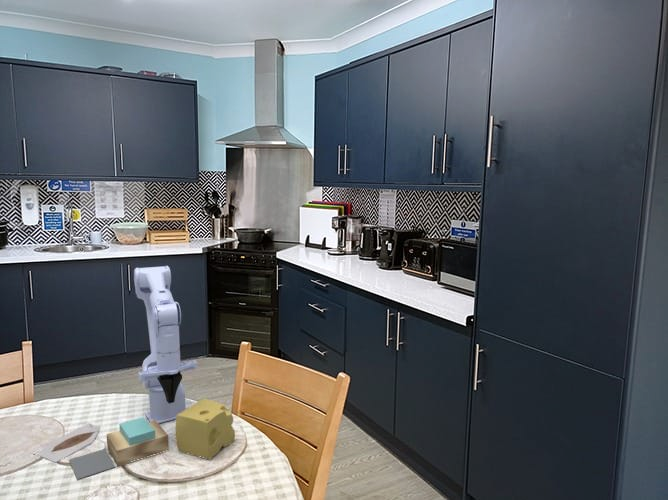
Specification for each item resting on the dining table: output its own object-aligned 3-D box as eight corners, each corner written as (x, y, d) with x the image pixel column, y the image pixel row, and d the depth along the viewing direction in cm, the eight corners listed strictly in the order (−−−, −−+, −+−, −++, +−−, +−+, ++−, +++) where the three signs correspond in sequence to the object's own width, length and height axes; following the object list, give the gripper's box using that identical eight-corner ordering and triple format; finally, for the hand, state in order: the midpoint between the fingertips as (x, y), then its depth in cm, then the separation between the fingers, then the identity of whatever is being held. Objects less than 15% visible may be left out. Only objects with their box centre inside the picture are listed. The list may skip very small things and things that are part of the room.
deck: (155, 434, 127) (155, 420, 127) (168, 450, 119) (168, 435, 119) (107, 449, 120) (106, 434, 119) (117, 466, 112) (116, 450, 111)
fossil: (88, 422, 132) (113, 428, 128) (89, 426, 133) (113, 433, 128) (29, 452, 118) (55, 460, 114) (30, 456, 118) (55, 464, 114)
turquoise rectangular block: (144, 424, 124) (143, 416, 124) (155, 437, 117) (154, 430, 117) (119, 431, 121) (119, 423, 120) (129, 445, 114) (129, 437, 113)
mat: (105, 449, 119) (105, 448, 119) (115, 467, 112) (115, 466, 112) (69, 460, 115) (69, 459, 115) (77, 480, 107) (77, 479, 107)
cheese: (235, 441, 124) (234, 404, 123) (208, 462, 114) (206, 422, 113) (203, 432, 128) (202, 397, 127) (174, 452, 118) (173, 414, 117)
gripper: (143, 360, 114) (146, 414, 115) (201, 348, 123) (203, 399, 124) (135, 353, 120) (137, 405, 121) (191, 342, 129) (193, 391, 130)
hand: (170, 401), depth 123 cm, fingers closed
